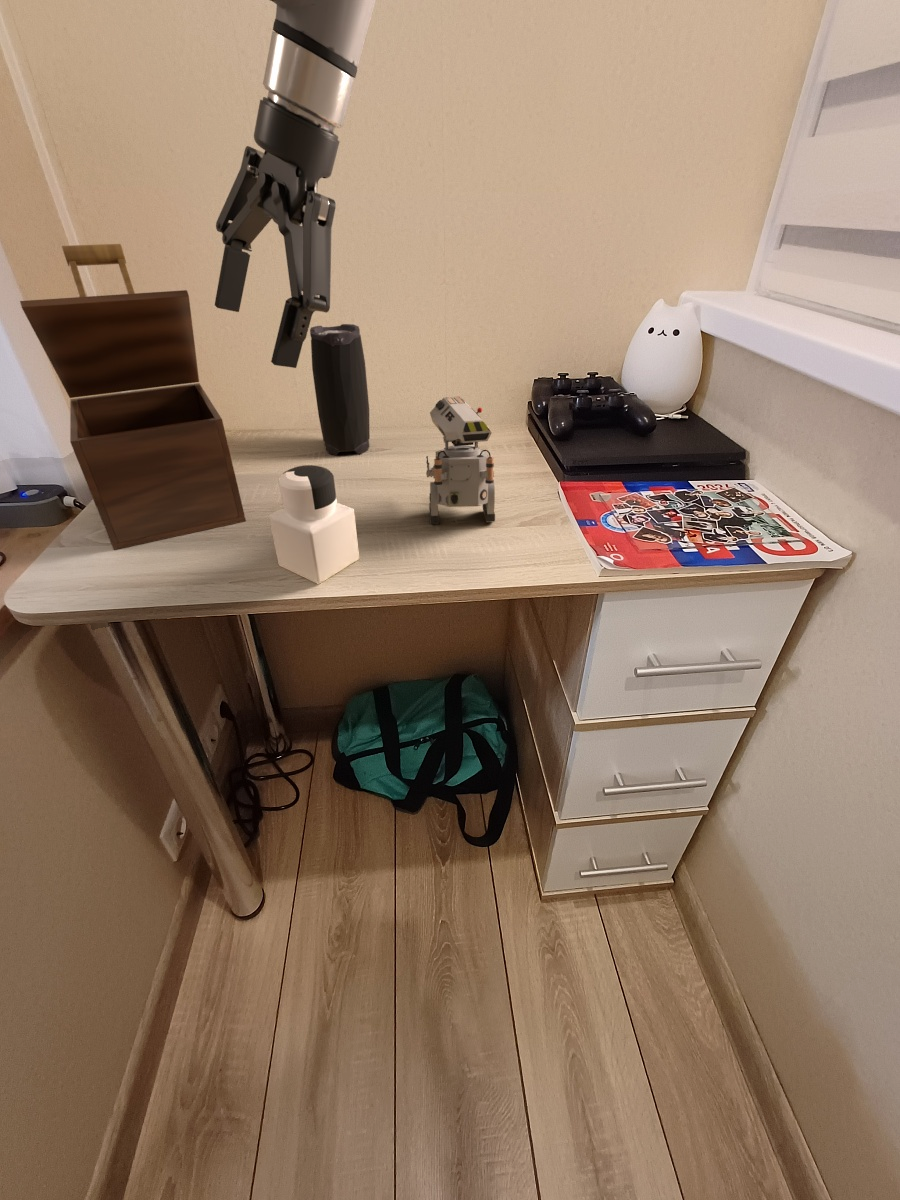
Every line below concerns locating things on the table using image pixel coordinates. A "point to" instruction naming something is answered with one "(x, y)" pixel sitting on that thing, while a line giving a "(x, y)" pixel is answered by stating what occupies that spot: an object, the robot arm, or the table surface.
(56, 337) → the chest lid
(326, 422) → the portable speaker
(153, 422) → the chest
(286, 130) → the robot arm
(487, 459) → the figurine
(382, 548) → the table surface
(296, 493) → the medicine bottle
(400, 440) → the table surface
